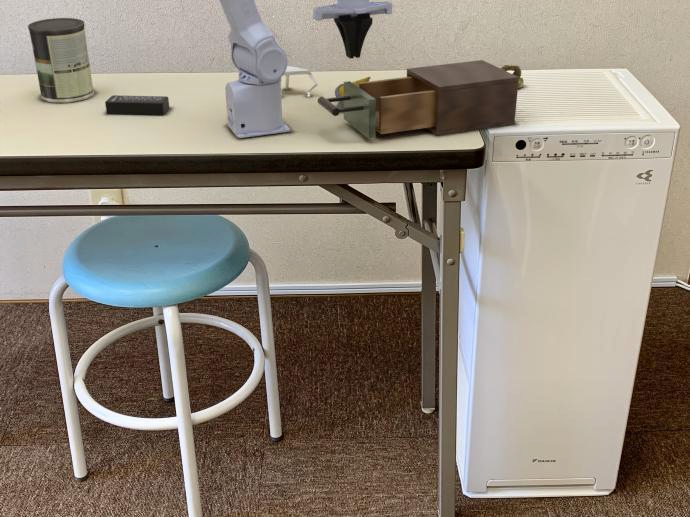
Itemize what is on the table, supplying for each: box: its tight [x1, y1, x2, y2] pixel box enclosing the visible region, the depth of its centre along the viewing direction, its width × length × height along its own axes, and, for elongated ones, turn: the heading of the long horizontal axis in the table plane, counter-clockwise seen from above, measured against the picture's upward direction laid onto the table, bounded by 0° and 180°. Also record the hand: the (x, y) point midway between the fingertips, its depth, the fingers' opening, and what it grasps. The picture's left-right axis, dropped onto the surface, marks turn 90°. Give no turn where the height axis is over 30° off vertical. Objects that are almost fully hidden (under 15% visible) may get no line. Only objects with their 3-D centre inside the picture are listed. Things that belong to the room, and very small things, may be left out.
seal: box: [500, 64, 524, 89], centre depth 170 cm, size 9×5×15 cm
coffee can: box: [27, 17, 95, 104], centre depth 163 cm, size 10×10×14 cm
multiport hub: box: [104, 94, 170, 116], centre depth 156 cm, size 4×11×2 cm, turn 85°
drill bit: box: [334, 76, 371, 109], centre depth 155 cm, size 5×5×10 cm
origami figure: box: [281, 65, 319, 98], centre depth 165 cm, size 12×8×5 cm
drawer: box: [317, 76, 437, 140], centre depth 144 cm, size 20×11×7 cm, turn 112°
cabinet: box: [406, 59, 519, 137], centre depth 150 cm, size 16×13×9 cm
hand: (353, 56), depth 153 cm, fingers closed
